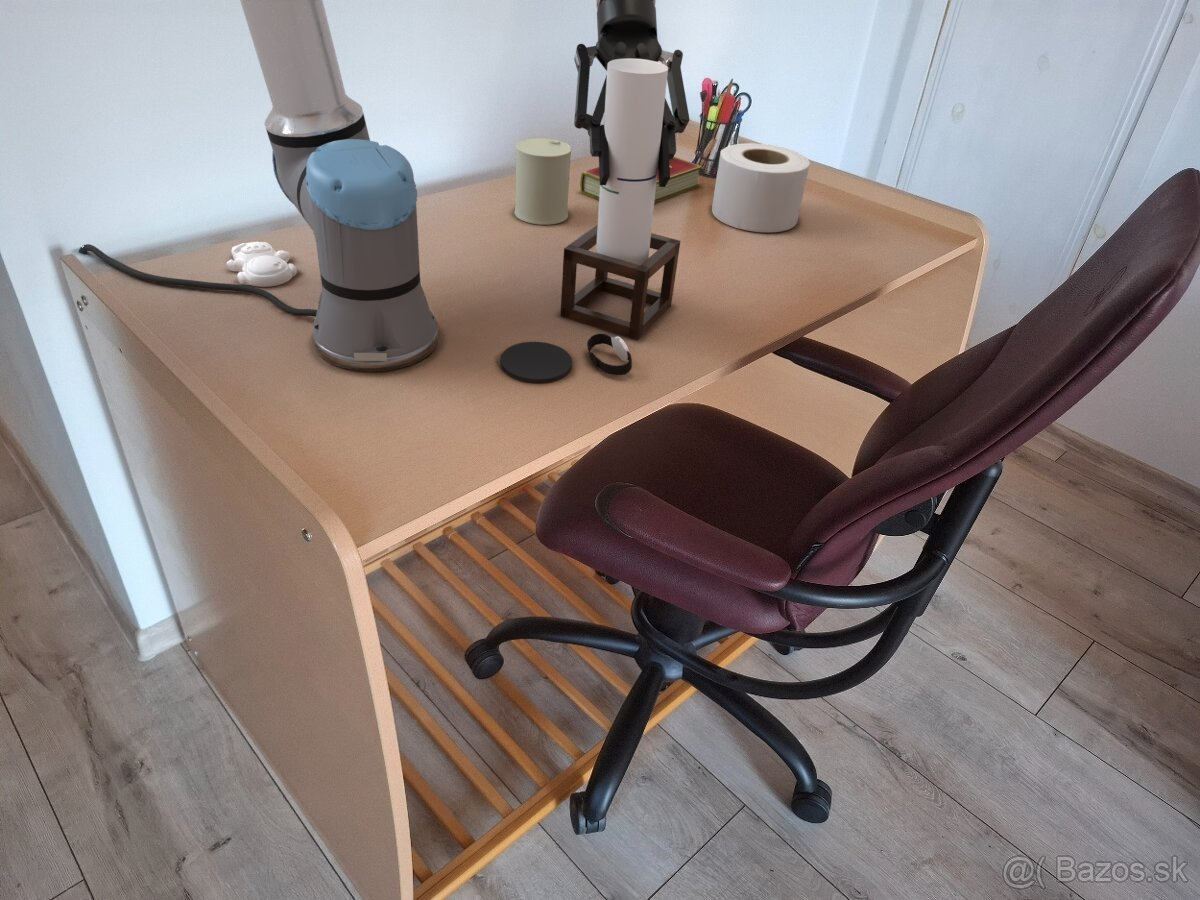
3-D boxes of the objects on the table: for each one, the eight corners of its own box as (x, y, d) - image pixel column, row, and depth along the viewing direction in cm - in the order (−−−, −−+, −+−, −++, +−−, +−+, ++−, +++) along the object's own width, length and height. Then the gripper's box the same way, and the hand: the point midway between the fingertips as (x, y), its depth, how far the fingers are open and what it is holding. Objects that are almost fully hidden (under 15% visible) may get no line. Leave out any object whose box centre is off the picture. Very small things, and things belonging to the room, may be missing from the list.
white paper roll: (694, 213, 149) (703, 152, 143) (741, 193, 159) (752, 136, 153) (768, 241, 142) (781, 178, 135) (812, 218, 152) (827, 159, 145)
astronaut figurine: (285, 248, 125) (282, 229, 123) (301, 282, 117) (298, 262, 115) (222, 255, 122) (218, 236, 120) (235, 291, 113) (231, 271, 112)
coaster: (486, 369, 103) (486, 364, 103) (523, 338, 110) (523, 334, 109) (549, 391, 100) (550, 387, 100) (584, 358, 107) (584, 354, 106)
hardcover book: (579, 192, 153) (581, 169, 151) (650, 169, 166) (653, 147, 164) (629, 212, 147) (632, 189, 145) (699, 186, 160) (702, 164, 158)
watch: (640, 374, 105) (643, 349, 103) (609, 383, 103) (612, 357, 100) (607, 345, 110) (609, 321, 108) (577, 353, 108) (578, 328, 105)
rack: (560, 316, 115) (563, 248, 109) (598, 284, 124) (603, 219, 118) (637, 340, 112) (645, 271, 105) (671, 306, 120) (680, 240, 114)
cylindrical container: (643, 278, 110) (663, 76, 95) (590, 270, 111) (602, 69, 96) (651, 256, 116) (672, 62, 100) (601, 248, 116) (614, 55, 101)
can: (578, 214, 145) (583, 144, 138) (547, 229, 138) (550, 157, 131) (535, 200, 148) (537, 131, 141) (503, 214, 142) (504, 143, 135)
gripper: (693, 32, 111) (703, 196, 108) (545, 22, 108) (551, 192, 105) (709, -6, 104) (721, 170, 101) (551, -17, 100) (558, 164, 98)
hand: (634, 181), depth 103 cm, fingers closed on cylindrical container, 7 cm apart
